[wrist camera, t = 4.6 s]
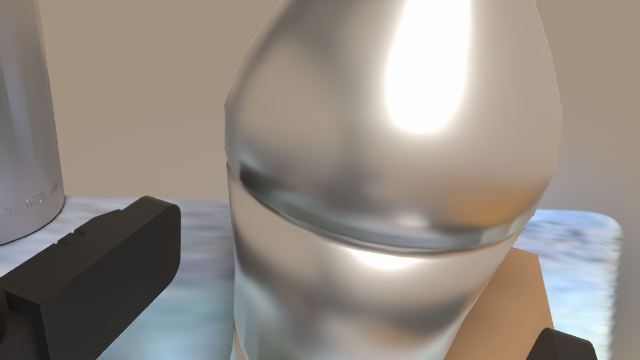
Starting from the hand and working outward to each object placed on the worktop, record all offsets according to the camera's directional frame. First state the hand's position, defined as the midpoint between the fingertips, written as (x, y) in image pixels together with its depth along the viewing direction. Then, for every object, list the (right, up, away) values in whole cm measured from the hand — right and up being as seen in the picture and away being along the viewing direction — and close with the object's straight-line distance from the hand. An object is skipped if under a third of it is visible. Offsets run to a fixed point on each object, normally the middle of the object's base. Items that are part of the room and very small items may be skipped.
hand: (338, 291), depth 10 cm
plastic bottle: (-1, -9, +6) cm, 11 cm away
